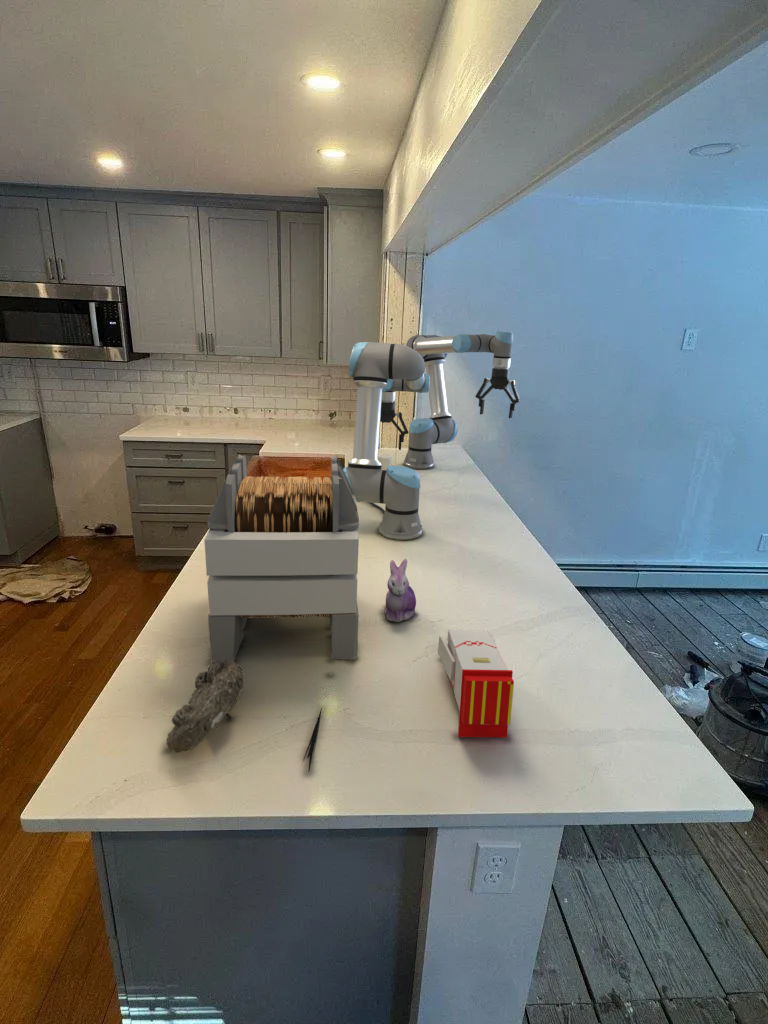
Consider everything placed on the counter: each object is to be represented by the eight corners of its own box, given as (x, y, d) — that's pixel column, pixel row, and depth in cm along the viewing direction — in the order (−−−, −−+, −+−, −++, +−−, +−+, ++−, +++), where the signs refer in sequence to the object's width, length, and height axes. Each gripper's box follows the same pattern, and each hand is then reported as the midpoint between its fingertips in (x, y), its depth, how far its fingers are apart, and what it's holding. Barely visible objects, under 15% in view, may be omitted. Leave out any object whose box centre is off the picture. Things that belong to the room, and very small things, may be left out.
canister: (383, 480, 261) (384, 453, 256) (393, 484, 256) (394, 456, 252) (372, 483, 256) (373, 455, 252) (382, 486, 252) (383, 459, 247)
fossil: (192, 660, 117) (244, 628, 112) (224, 691, 120) (276, 661, 115) (142, 746, 98) (202, 712, 93) (182, 779, 101) (242, 748, 96)
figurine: (392, 627, 141) (395, 572, 136) (374, 608, 149) (376, 556, 144) (425, 619, 145) (429, 566, 140) (405, 601, 154) (408, 550, 149)
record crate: (230, 591, 155) (223, 445, 141) (350, 589, 159) (354, 447, 145) (208, 664, 123) (195, 486, 109) (358, 660, 127) (363, 487, 113)
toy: (488, 613, 130) (523, 677, 101) (484, 667, 133) (517, 744, 104) (435, 612, 130) (455, 676, 101) (432, 666, 133) (451, 743, 103)
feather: (331, 679, 122) (336, 673, 122) (307, 777, 96) (313, 769, 95) (324, 675, 122) (329, 669, 121) (298, 772, 95) (304, 764, 95)
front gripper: (413, 400, 248) (411, 447, 256) (357, 398, 246) (355, 446, 253) (416, 403, 241) (413, 451, 249) (358, 401, 239) (356, 450, 246)
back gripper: (471, 366, 253) (466, 413, 260) (526, 371, 242) (520, 420, 249) (477, 365, 259) (472, 411, 266) (531, 369, 248) (525, 418, 255)
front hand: (384, 449), depth 251 cm, fingers open, 13 cm apart
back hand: (495, 416), depth 258 cm, fingers open, 13 cm apart
